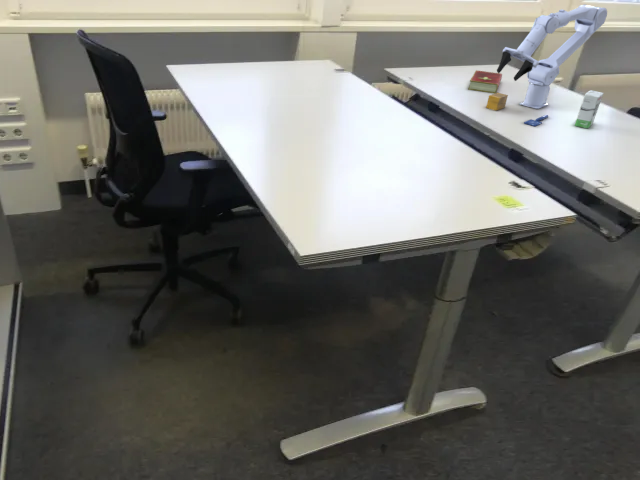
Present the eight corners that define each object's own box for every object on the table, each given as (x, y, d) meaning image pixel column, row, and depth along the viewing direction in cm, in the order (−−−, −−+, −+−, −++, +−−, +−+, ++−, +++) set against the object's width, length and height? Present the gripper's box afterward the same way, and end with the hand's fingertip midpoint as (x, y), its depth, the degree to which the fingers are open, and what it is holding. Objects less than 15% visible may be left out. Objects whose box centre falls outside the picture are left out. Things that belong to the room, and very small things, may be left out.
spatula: (541, 115, 215) (542, 112, 215) (552, 118, 213) (553, 115, 212) (523, 123, 207) (524, 120, 206) (534, 126, 204) (535, 123, 203)
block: (494, 104, 226) (497, 92, 223) (504, 107, 223) (508, 95, 220) (485, 108, 222) (488, 95, 219) (496, 110, 219) (499, 98, 216)
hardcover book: (500, 82, 256) (502, 73, 254) (496, 93, 240) (498, 83, 238) (474, 78, 260) (476, 69, 258) (468, 89, 244) (470, 79, 241)
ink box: (587, 129, 204) (599, 97, 197) (573, 125, 206) (584, 94, 200) (593, 123, 210) (604, 92, 203) (579, 120, 212) (590, 89, 206)
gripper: (511, 32, 209) (488, 63, 212) (545, 46, 202) (520, 78, 204) (514, 42, 215) (492, 72, 218) (547, 56, 208) (523, 87, 210)
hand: (506, 75), depth 211 cm, fingers open, 7 cm apart
